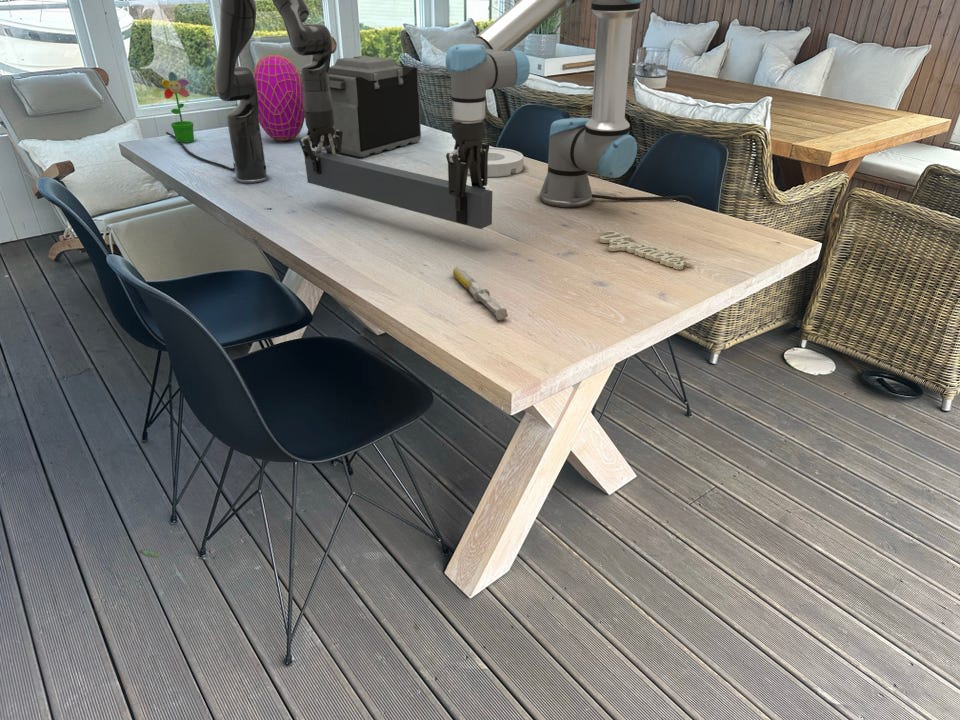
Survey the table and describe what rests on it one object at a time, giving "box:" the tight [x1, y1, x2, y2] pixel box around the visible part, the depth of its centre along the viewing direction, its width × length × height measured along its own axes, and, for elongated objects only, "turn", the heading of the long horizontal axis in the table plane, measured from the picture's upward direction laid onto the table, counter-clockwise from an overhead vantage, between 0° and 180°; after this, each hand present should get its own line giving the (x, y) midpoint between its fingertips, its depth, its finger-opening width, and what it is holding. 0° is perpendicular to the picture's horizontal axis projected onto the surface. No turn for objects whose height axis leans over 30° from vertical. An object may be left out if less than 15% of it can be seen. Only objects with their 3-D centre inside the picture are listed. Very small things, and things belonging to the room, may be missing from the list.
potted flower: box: [160, 71, 195, 144], centre depth 255 cm, size 9×8×25 cm
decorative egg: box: [252, 54, 305, 142], centre depth 257 cm, size 19×19×30 cm
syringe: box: [452, 266, 509, 321], centre depth 145 cm, size 25×4×3 cm, turn 21°
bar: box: [303, 151, 493, 230], centre depth 178 cm, size 61×4×8 cm, turn 53°
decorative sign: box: [599, 230, 690, 270], centre depth 167 cm, size 26×1×10 cm
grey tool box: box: [329, 55, 422, 159], centre depth 250 cm, size 37×22×30 cm, turn 144°
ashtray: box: [461, 146, 525, 178], centre depth 232 cm, size 23×23×4 cm
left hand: (325, 171), depth 191 cm, fingers closed on bar, 4 cm apart
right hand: (468, 219), depth 166 cm, fingers closed on bar, 5 cm apart
